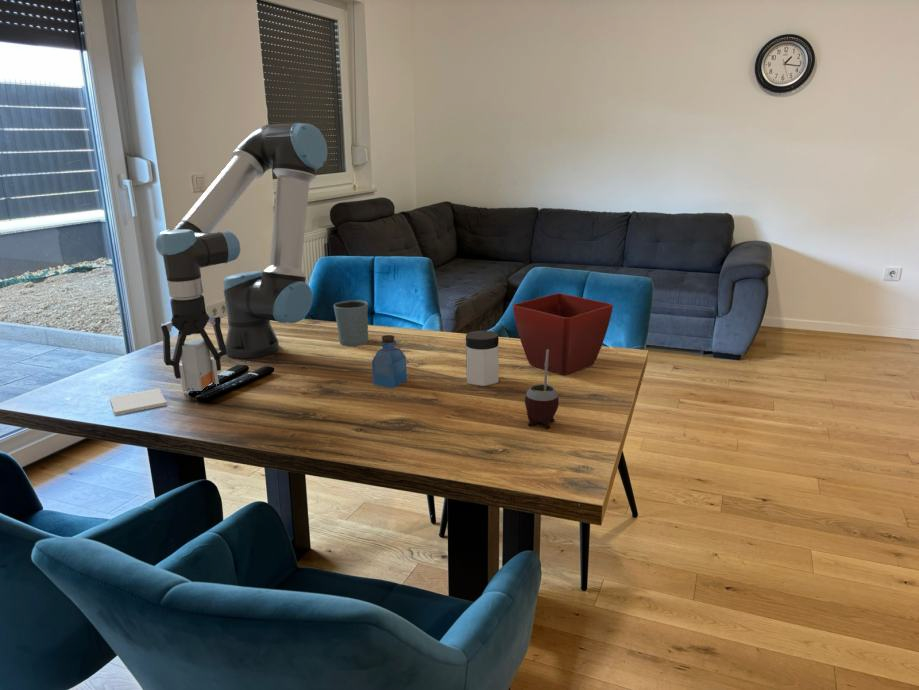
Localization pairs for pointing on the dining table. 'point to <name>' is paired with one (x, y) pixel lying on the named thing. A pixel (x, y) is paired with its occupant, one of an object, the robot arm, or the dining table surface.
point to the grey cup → (352, 322)
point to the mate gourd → (541, 402)
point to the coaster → (137, 401)
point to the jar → (482, 358)
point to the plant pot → (562, 331)
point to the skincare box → (196, 364)
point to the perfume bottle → (389, 364)
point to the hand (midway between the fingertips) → (200, 386)
